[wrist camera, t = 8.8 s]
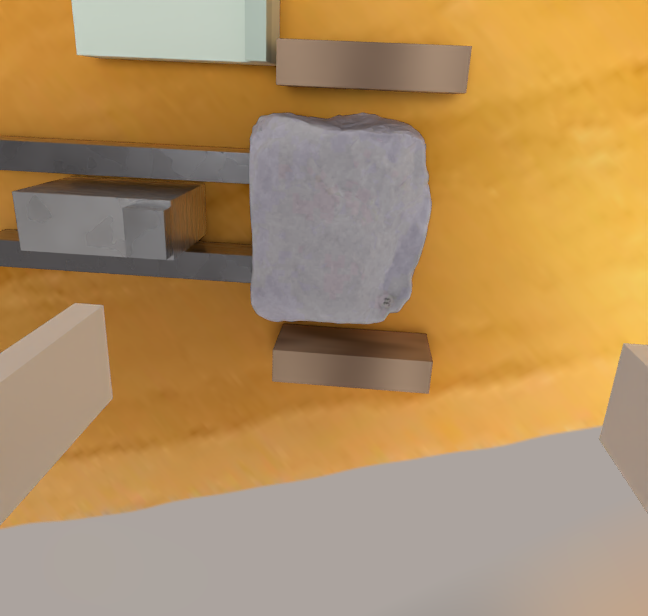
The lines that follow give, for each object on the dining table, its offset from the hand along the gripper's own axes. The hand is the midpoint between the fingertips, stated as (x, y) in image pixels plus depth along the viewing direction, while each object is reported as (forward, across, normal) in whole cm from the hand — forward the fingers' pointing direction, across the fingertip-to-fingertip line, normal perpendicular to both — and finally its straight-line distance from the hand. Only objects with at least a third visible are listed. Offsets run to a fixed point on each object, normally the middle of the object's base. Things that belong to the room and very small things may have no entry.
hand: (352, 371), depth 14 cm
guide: (+20, -14, 0) cm, 24 cm away
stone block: (+20, -1, 0) cm, 20 cm away
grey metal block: (+20, -14, 0) cm, 24 cm away
